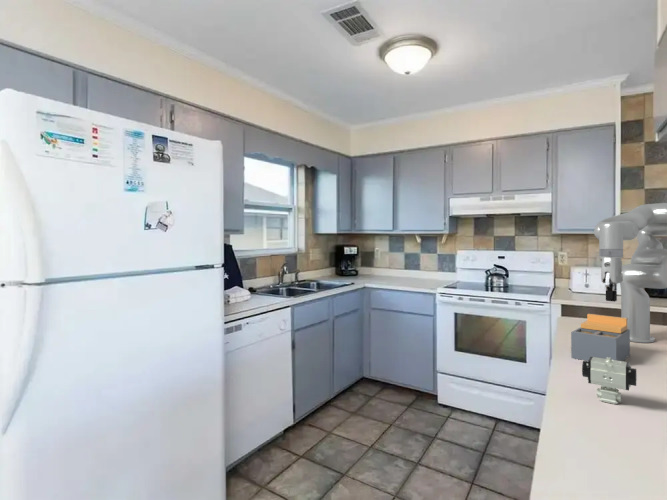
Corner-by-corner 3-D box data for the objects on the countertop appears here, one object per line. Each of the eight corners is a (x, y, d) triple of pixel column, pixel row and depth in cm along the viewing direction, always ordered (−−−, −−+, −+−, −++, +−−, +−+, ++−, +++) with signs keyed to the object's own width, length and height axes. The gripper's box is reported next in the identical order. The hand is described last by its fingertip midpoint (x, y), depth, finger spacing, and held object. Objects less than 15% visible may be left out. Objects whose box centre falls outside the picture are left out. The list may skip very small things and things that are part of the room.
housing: (587, 347, 152) (587, 323, 152) (629, 355, 142) (629, 329, 142) (571, 357, 141) (571, 332, 141) (616, 366, 131) (616, 338, 130)
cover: (588, 323, 151) (588, 313, 151) (627, 328, 142) (627, 318, 142) (580, 327, 145) (580, 317, 145) (620, 333, 136) (620, 322, 136)
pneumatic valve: (584, 393, 110) (584, 351, 110) (636, 403, 103) (636, 359, 102) (581, 399, 106) (581, 356, 105) (635, 411, 98) (635, 364, 98)
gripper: (617, 254, 141) (617, 304, 142) (628, 253, 151) (628, 299, 152) (593, 254, 147) (593, 302, 148) (605, 252, 157) (605, 297, 157)
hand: (611, 300), depth 150 cm, fingers closed
